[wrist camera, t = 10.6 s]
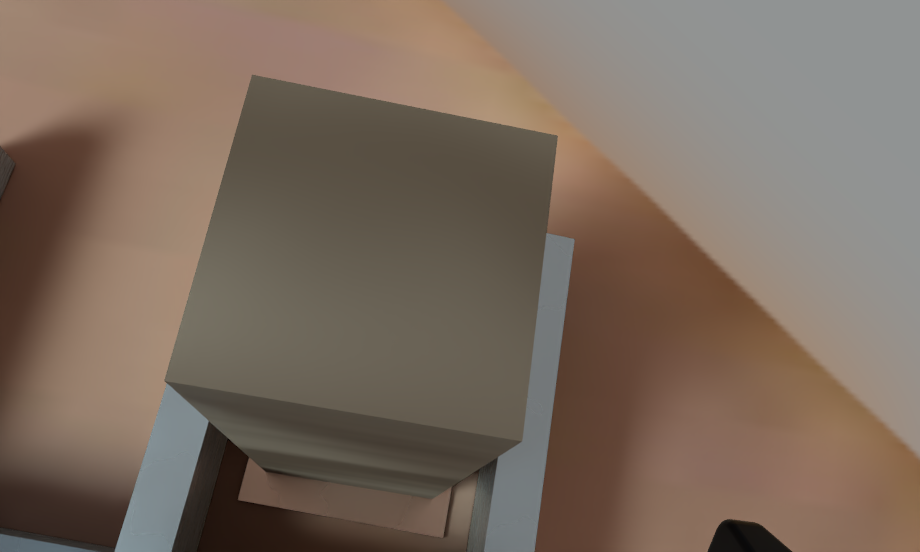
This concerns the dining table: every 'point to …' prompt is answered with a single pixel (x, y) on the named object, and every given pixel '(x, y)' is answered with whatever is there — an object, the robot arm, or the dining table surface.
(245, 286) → the grey-brown peg
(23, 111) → the dining table surface
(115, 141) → the dining table surface
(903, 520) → the dining table surface
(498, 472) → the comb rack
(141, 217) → the dining table surface
